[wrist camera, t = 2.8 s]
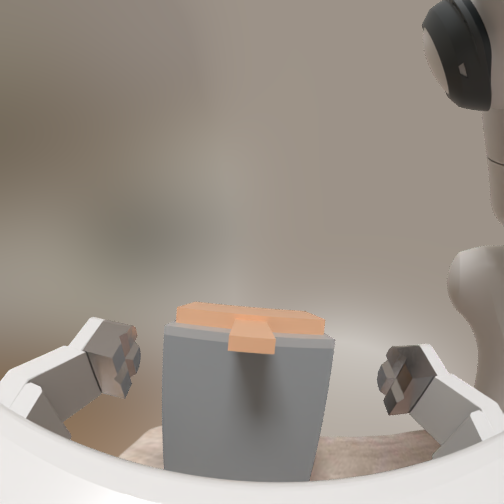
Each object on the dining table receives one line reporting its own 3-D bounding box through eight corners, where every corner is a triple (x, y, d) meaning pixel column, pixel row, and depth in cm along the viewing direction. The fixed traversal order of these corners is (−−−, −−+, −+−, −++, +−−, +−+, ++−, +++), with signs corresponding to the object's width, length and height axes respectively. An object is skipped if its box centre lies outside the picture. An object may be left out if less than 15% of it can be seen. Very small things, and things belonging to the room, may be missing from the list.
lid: (304, 322, 44) (305, 311, 44) (357, 356, 21) (360, 334, 21) (194, 313, 43) (195, 301, 44) (142, 338, 21) (143, 316, 21)
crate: (286, 455, 42) (305, 321, 45) (300, 512, 26) (335, 339, 29) (187, 447, 42) (193, 311, 45) (166, 501, 26) (164, 325, 29)
